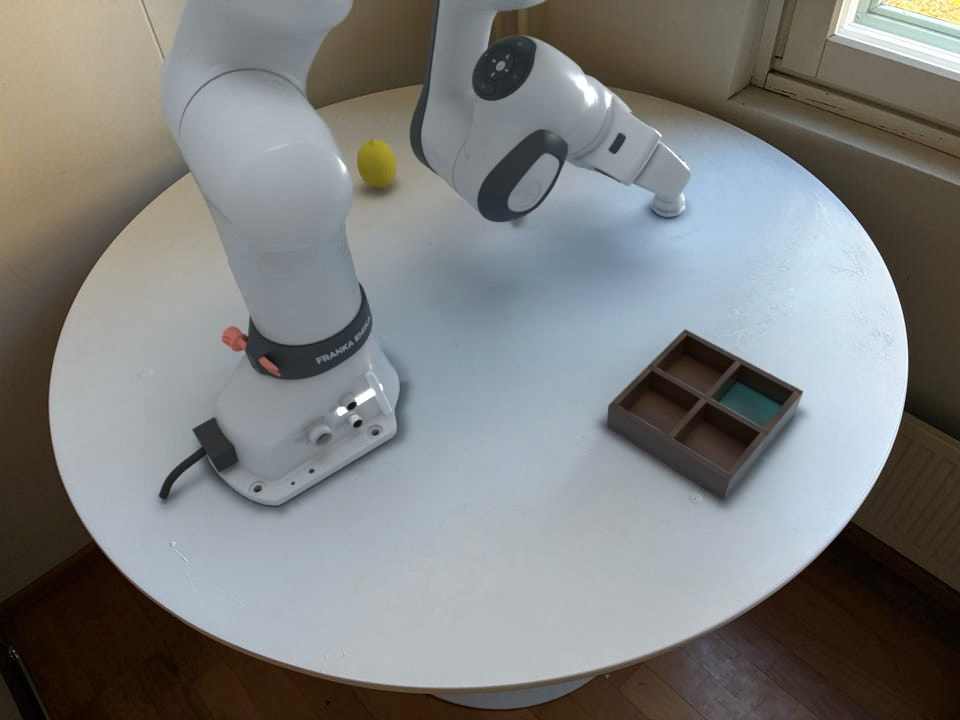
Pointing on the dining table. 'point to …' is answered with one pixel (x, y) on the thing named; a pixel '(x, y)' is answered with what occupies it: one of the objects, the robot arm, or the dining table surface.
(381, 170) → the lemon
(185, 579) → the dining table surface
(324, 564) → the dining table surface
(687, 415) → the grid
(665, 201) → the rook chess piece
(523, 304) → the dining table surface
